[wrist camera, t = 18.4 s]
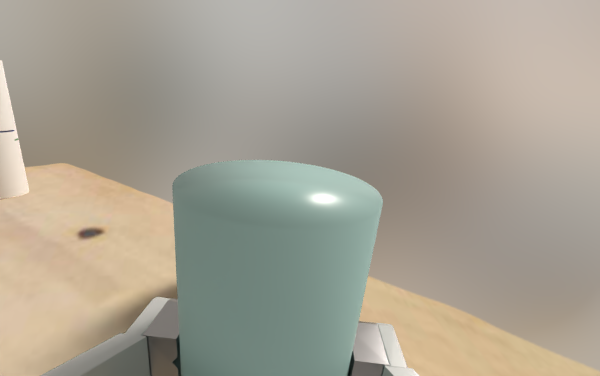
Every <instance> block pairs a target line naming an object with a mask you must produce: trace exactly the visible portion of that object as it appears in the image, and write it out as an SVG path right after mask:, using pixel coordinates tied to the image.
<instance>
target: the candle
mask: <svg viewBox="0 0 600 376" xmlns="http://www.w3.org/2000/svg"><path fill="white" fill-rule="evenodd" d="M382 204H383V200H382V197H381V195H380V193H379V192H378V191H377V190H376V189H375V188H374V187H372V186H371V185H369V184H368V183H366V182H364V181H362V180H360V179H358V178H356V177H353V176H351V175H348V174H345V173H342V172H338V171H336V170H332V169H328V168H324V167H319V166H314V165H308V164H302V163H294V162H285V161H271V160H238V161H227V162H218V163H212V164H207V165H203V166H199V167H196V168H193V169H190V170H188V171H186V172H184V173H182V174H181V175H179V176H178V177H177V178H176V179H175V180H174V182H173V210H174V231H175V253H176V274H177V296H178V318H179V339H180V361H181V376H347V375H348V371H349V366H350V361H351V356H352V351H353V346H354V341H355V336H356V331H357V327H358V322H359V317H360V312H361V307H362V302H363V297H364V292H365V287H366V283H367V278H368V273H369V268H370V263H371V258H372V253H373V248H374V243H375V238H376V234H377V228H378V224H379V219H380V214H381V209H382Z"/></svg>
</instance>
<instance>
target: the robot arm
mask: <svg viewBox="0 0 600 376" xmlns="http://www.w3.org/2000/svg"><path fill="white" fill-rule="evenodd" d="M41 376H181V361H180V339H179V318H178V299H172V298H171V299H169V298H163V297H156V298H154V299H152V301H151V302H150V303H149V304H148V305H147V307H146V308H145V309H144V310H143V312H142V313H141V314H140V315H139V317H138V318H137V319H136V320H135V321H134V323H133V324H132V325H131V326H130V328H129V329H128V330H127V331H126V332H125V334H123V333H119V334H118V335H116V336H114V337H112V338H110V339H108V340H106V341H104V342H103V343H101V344H99V345H97V346H95V347H93V348H91V349H89V350H88V351H86V352H84V353H82V354H80V355H78V356H76V357H74V358H73V359H71V360H69V361H67V362H65V363H63V364H61V365H59V366H58V367H56V368H54V369H52V370H50V371H48V372H46V373H44V374H43V375H41ZM347 376H419V375H418V374H417V373H416V372H415V371H414V370H413V369H411V368H408V367H407V364H406V361H405V359H404V356H403V353H402V350H401V347H400V344H399V341H398V339H397V336H396V333H395V330H394V327H393V326H392V325H391V324H383V323H371V322H362V321H359V322H358V327H357V331H356V336H355V341H354V346H353V351H352V356H351V361H350V366H349V371H348V375H347Z"/></svg>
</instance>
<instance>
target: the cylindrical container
mask: <svg viewBox="0 0 600 376" xmlns="http://www.w3.org/2000/svg"><path fill="white" fill-rule="evenodd" d="M28 192H29V187H28V182H27V178H26V173H25V168H24V163H23V159H22V154H21V149H20V144H19V139H18V135H17V130H16V125H15V120H14V116H13V111H12V106H11V102H10V97H9V92H8V87H7V82H6V78H5V73H4V69H3V64H2V60H0V199H5V198H12V197H17V196H21V195H24V194H26V193H28Z"/></svg>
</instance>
